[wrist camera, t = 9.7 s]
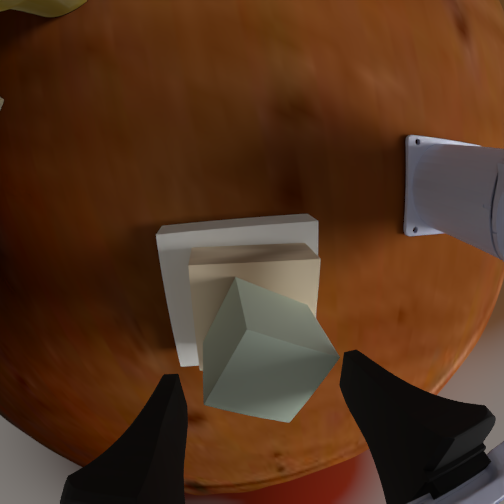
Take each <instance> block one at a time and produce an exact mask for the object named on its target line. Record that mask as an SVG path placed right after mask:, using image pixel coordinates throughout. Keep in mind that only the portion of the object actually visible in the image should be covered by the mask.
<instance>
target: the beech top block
mask: <svg viewBox="0 0 504 504" xmlns="http://www.w3.org/2000/svg"><path fill="white" fill-rule="evenodd" d="M320 260H321V259H320V258H319V257H318V256H317V255H316V254H315V253H314V252H313V250H312V249H311V248H310V247H309V246H308V245H307V244H306V243H286V244H262V245H239V246H216V247H194V248H192V249H191V254H190V259H189V264H188V268H189V280H190V291H191V301H192V310H193V319H194V328H195V337H196V345H197V353H198V360H199V368H200V371H203V341H204V339H205V337H206V335H207V333H208V331H209V329H210V327H211V325H212V323H213V321H214V319H215V317H216V315H217V313H218V311H219V309H220V307H221V305H222V303H223V301H224V299H225V297H226V295H227V293H228V291H229V289H230V287H231V285H232V283H233V281H234V279H235V277H237V278H239V279H242V280H245V281H247V282H250V283H252V284H255V285H257V286H260V287H262V288H265V289H267V290H270V291H273V292H275V293H278V294H280V295H283V296H286V297H288V298H291V299H293V300H296V301H299V302H301V303H304V304H307V305H308V307H309V308H310V310H311V311H312V313H313V315H314V316H315V317H316V307H317V296H318V285H319V273H320Z"/></svg>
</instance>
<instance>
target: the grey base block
mask: <svg viewBox="0 0 504 504" xmlns="http://www.w3.org/2000/svg"><path fill="white" fill-rule="evenodd" d="M156 240H157V247H158V254H159V260H160V266H161V272H162V278H163V284H164V289H165V295H166V300H167V305H168V310H169V315H170V320H171V325H172V330H173V335H174V339H175V344H176V348H177V352H178V357H179V361H180V365H181V366H197V365H199V360H198V353H197V345H196V337H195V328H194V319H193V310H192V301H191V291H190V280H189V268H188V264H189V259H190V254H191V249H192V248H194V247H216V246H239V245H262V244H286V243H306V244H307V245H308V246H309V247H310V248H311V249H312V250H313V252H314V253H315V254H316V255H317V256H318V220H316V219H315V218H313V217H312V216H310V215H309V214H293V215H279V216H265V217H252V218H240V219H228V220H216V221H205V222H194V223H184V224H174V225H164V226H161V228H160V229H159V231H158V232H157V234H156ZM315 318H316V317H315Z"/></svg>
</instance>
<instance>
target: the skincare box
mask: <svg viewBox="0 0 504 504" xmlns="http://www.w3.org/2000/svg"><path fill="white" fill-rule="evenodd" d="M3 102H4V99H2V98H1V97H0V109H1V107H2V105H3Z"/></svg>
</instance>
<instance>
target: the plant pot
mask: <svg viewBox="0 0 504 504" xmlns="http://www.w3.org/2000/svg"><path fill="white" fill-rule="evenodd" d="M86 1H88V0H0V12H1V11H4V10H8V9H13V10H18V11H23V12H27V13H32V14H36V15H40V16H43V17H57V16H61V15H64V14H67V13H69V12H71V11H73V10H75V9H76V8H78V7H80V6H81V5H83V4H84V3H85V2H86Z"/></svg>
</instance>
